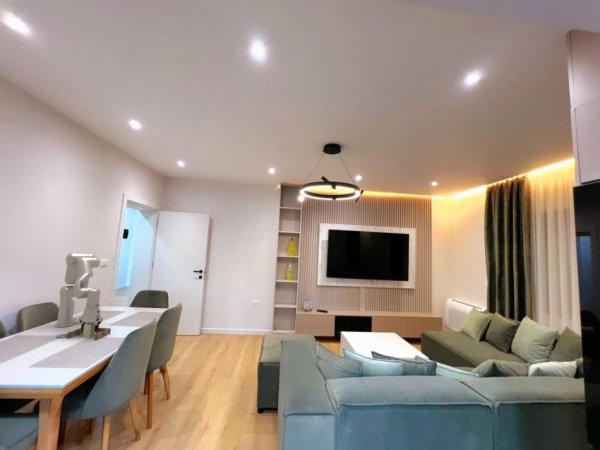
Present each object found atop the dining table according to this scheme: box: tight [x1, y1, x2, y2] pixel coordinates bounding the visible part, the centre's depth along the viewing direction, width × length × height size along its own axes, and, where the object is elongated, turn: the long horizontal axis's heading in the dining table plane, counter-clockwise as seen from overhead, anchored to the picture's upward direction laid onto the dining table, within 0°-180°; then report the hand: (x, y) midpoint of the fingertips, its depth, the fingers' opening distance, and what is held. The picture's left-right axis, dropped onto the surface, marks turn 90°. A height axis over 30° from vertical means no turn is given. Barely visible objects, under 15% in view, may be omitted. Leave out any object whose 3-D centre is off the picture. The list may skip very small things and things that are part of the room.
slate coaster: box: [55, 333, 67, 339], centre depth 198 cm, size 8×8×1 cm
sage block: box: [82, 323, 96, 339], centre depth 201 cm, size 5×5×9 cm
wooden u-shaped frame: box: [66, 327, 112, 341], centre depth 201 cm, size 15×20×4 cm
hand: (89, 330), depth 201 cm, fingers open, 9 cm apart
